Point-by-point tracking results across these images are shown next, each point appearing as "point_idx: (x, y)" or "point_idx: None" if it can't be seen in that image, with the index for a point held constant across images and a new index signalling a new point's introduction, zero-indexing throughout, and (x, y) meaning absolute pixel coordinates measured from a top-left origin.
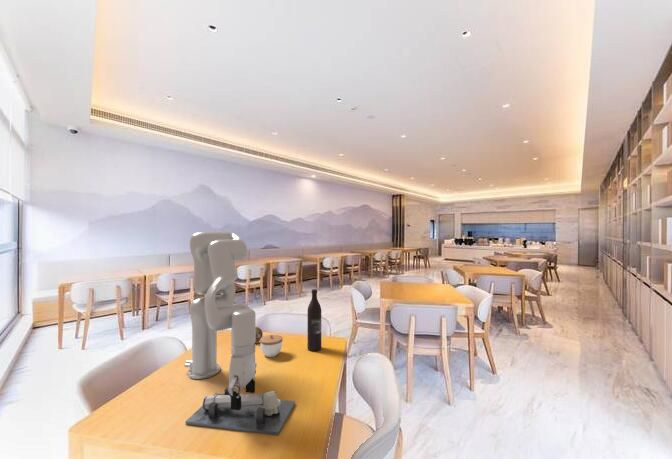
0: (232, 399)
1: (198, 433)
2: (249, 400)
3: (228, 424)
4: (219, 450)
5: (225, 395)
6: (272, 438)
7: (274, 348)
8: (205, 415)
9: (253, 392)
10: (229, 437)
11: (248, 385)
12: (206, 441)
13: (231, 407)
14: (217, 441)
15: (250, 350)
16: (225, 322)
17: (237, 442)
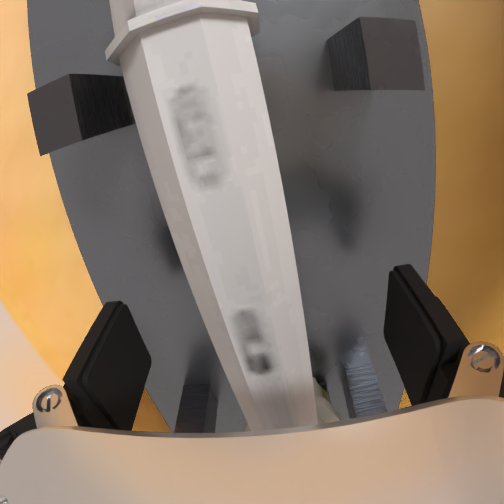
0: (65, 388)
1: (11, 134)
2: (235, 394)
3: (100, 267)
4: (14, 307)
5: (219, 132)
6: (163, 428)
7: None
8: (103, 42)
9: (384, 337)
10: (70, 303)
11: (412, 342)
12: (3, 222)
13: (105, 312)
14: (28, 269)
15: None
16: None
17: (74, 346)
